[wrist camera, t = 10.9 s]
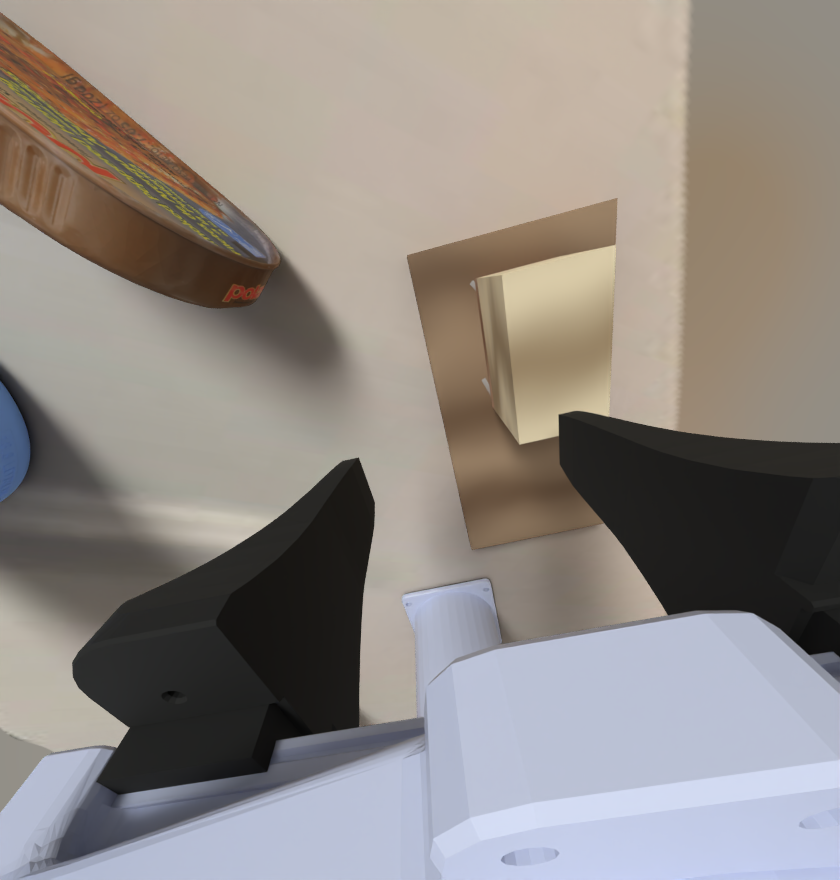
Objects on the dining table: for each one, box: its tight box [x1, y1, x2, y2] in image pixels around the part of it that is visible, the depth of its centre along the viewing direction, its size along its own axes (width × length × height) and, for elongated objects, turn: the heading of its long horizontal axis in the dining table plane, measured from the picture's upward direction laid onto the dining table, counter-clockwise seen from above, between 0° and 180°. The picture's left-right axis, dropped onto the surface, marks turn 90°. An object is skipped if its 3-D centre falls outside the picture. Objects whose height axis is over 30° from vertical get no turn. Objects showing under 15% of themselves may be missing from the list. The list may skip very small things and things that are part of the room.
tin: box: [0, 12, 281, 308], centre depth 11 cm, size 15×3×8 cm, turn 50°
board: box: [407, 198, 617, 550], centre depth 20 cm, size 20×10×2 cm, turn 13°
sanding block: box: [474, 245, 616, 445], centre depth 15 cm, size 7×4×5 cm, turn 14°
